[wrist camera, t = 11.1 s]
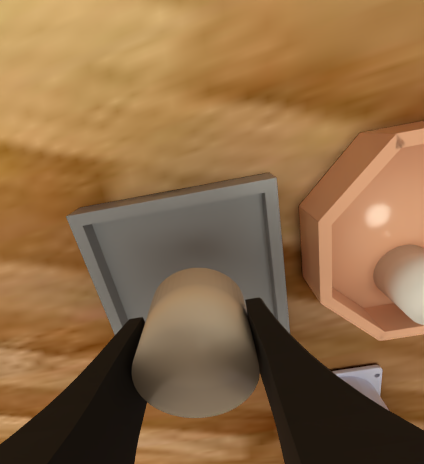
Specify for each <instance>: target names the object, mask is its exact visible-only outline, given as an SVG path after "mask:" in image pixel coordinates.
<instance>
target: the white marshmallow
mask: <svg viewBox="0 0 424 464" xmlns="http://www.w3.org/2000/svg"><path fill="white" fill-rule="evenodd" d="M373 279H374V283H375V285H376V286H377V288H378V289H379V290H381V291H382V292H383V293H384V294H385V295H386V296H387V297H388V298H389V299H390V300H391V301H392V302H393V303H394V304H396V305H397V306H398V307H399V308H400V309H401V310H402V311H403V312H404V313H405V314H406V315H407V316H408V317H409V318H411V319H412V320H413V321H414V322H416V323H418V324H421V325H424V248H422V247H420V246H417V245H403V246H399V247H396V248H394V249H392V250H390V251H389V252H387V253H386V254H385V255H384V256H383V257H382V258H381V259H380V260H379V261H378V263H377V265H376V267H375V269H374V273H373Z"/></svg>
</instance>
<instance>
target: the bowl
mask: <svg viewBox="0 0 424 464" xmlns="http://www.w3.org/2000/svg"><path fill="white" fill-rule="evenodd" d="M299 219H300V237H301V254H302V272H303V277H304V279H305V280H306V282H307V283H308V285H309V286H310V288H311V290H312V291H313V293H314V294H315V296H316V297H317V299H318V300H319V302H320V303H321V304H322V305H324V306H325V307H327V308H329V309H330V310H332V311H333V312H335V313H336V314H338V315H340V316H341V317H343V318H344V319H346V320H347V321H349V322H351V323H352V324H354V325H355V326H357V327H359V328H360V329H362V330H363V331H365V332H366V333H368V334H370V335H371V336H373V337H374V338H376V339H378V340H379V341H382V340H389V339H395V338H402V337H408V336H415V335H421V334H424V325H421V324H418V323H416V322H414V321H413V320H412V319H411V318H409V317H408V316H407V315H406V314H405V313H404V312H403V311H402V310H401V309H400V308H399V307H398V306H397V305H396V304H394V303H393V302H392V301H391V300H390V299H389V298H388V297H387V296H386V295H385V294H384V293H383V292H382V291H381V290H379V289H378V288H377V286H376V285H375V283H374V279H373V273H374V269H375V267H376V265H377V263H378V261H379V260H380V259H381V258H382V257H383V256H384V255H385V254H386V253H387V252H389V251H390V250H392V249H394V248H396V247H399V246H403V245H417V246H420V247H422V248H424V121H419V122H414V123H409V124H403V125H398V126H393V127H388V128H382V129H377V130H372V131H366V132H361V133H359V135H358V136H357V137H356V138H355V139H354V141H353V142H352V143H351V144H350V145H349V146H348V148H347V149H346V150H345V151H344V152H343V154H342V155H341V156H340V157H339V158H338V160H337V161H336V162H335V163H334V164H333V166H332V167H331V168H330V169H329V170H328V172H327V173H326V174H325V175H324V176H323V178H322V179H321V180H320V181H319V182H318V184H317V185H316V186H315V187H314V188H313V189H312V191H311V192H310V193H309V194H308V195H307V197H306V198H305V199H304V200H303V201H302V203H301V204H300V205H299Z"/></svg>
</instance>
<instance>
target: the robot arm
mask: <svg viewBox="0 0 424 464" xmlns="http://www.w3.org/2000/svg"><path fill="white" fill-rule="evenodd" d="M245 302H246V308H247V314H248V319H249V323H250V328H251V332H252V336H253V340H254V345H255V349H256V354H257V358H258V363H259V370H260V374H261V377H262V381H263V384H264V387H265V390H266V393H267V397H268V400H269V403H270V406H271V410H272V413H273V416H274V420H275V423H276V427H277V431H278V435H279V440H280V444H281V449H282V453H283V457H284V462H285V464H424V430H422V429H420V428H418V427H417V426H415V425H413V424H411V423H409V422H408V421H406V420H404V419H402V418H401V417H399V416H397V415H395V414H394V413H392V412H390V411H389V409H388V408H387V406H386V405H385V403H384V402H383V400H382V398H381V397H380V392H381V381H382V368H381V367H380V366H379V365H371V366H364V367H357V368H351V369H344V370H337V371H330V370H329V369H328V368H327V367H325V366H324V365H323V364H322V363H321V362H319V361H318V360H317V359H316V358H315V357H313V356H312V355H311V354H310V353H309V352H308V351H307V350H306V349H305V348H304V347H303V346H301V345H300V344H299V343H298V342H297V341H296V340H295V339H294V338H293V337H292V336H291V335H290V333H289V332H288V331H287V330H286V329H285V328H284V327H283V326H282V325H281V324H280V322H279V321H278V320H277V319H276V318H275V316H274V315H273V314H272V313H271V311H270V310H269V309H268V307H267V306H266V304H265V303H264V301H263V300H262V299H261V298H260V297H258V298H252V299H246V300H245ZM144 325H145V321H144V318H143V317H139V318H133V319H129V320H128V321H127V322H126V323H125V324H124V326H123V327H122V328H121V329H120V330H119V331H118V333H117V334H116V335H115V336H114V337H113V338H112V340H111V341H110V342H109V343H108V344H107V345H106V346H105V348H104V349H103V350H102V351H101V352H100V353H99V354H98V356H97V357H96V358H95V359H94V360H93V361H92V362H91V363H90V364H89V365H88V366H87V367H86V368H85V370H84V371H83V372H82V373H81V374H80V375H79V376H78V377H77V378H76V379H75V380H74V381H73V382H72V383H71V384H70V385H69V386H68V387H67V388H66V389H65V390H64V391H63V392H62V393H61V394H60V395H59V396H57V397H56V398H55V399H54V400H53V401H52V402H51V403H50V404H49V405H48V406H46V407H45V408H44V409H43V410H42V411H41V412H39V413H38V414H37V415H36V416H35V417H33V418H32V419H31V420H30V421H29V422H27V423H26V424H25V425H24V426H23V427H22V428H20V429H19V430H18V431H17V432H16V433H14V434H13V435H12V436H10V437H9V438H8V439H7V440H5V441H4V442H3V443H1V444H0V464H134V462H135V455H136V449H137V443H138V438H139V434H140V430H141V425H142V421H143V417H144V413H145V408H146V404H147V401H145V400H144V399H143V398H142V397H141V395H140V394H139V393H138V391H137V390H136V388H135V386H134V383H133V380H132V364H133V360H134V357H135V353H136V350H137V347H138V344H139V341H140V337H141V334H142V331H143V328H144Z"/></svg>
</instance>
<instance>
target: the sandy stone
mask: <svg viewBox="0 0 424 464" xmlns="http://www.w3.org/2000/svg"><path fill="white" fill-rule="evenodd" d="M259 373H260V370H259V363H258V358H257V354H256V349H255V345H254V340H253V336H252V332H251V328H250V323H249V319H248V314H247V309H246V305H245V301H244V297H243V294H242V292H241V290H240V288H239V287H238V285H237V284H236V283H235V282H234V281H233V280H232V279H231V278H229V277H228V276H226V275H225V274H223V273H221V272H218V271H216V270H212V269H208V268H189V269H185V270H181V271H178V272H176V273H174V274H172V275H170V276H169V277H167V278H166V279H165V280H164V281H163V282H162V283H161V284H160V285H159V286H158V288H157V290H156V291H155V294H154V296H153V299H152V302H151V306H150V309H149V312H148V315H147V318H146V322H145V325H144V328H143V331H142V334H141V337H140V341H139V344H138V347H137V350H136V353H135V357H134V360H133V364H132V380H133V383H134V386H135V388H136V390H137V391H138V393H139V394H140V395H141V397H142V398H143V399H144V400H145V401H147V402H148V403H149V404H150V405H152V406H153V407H155V408H157V409H159V410H161V411H163V412H165V413H168V414H171V415H175V416H180V417H187V418H204V417H211V416H216V415H219V414H223V413H225V412H228V411H230V410H232V409H234V408H236V407H237V406H239V405H240V404H242V403H243V402H244V401H245V400H247V398H248V397H249V396H250V395H251V394H252V392H253V391H254V390H255V388H256V385H257V383H258V380H259Z"/></svg>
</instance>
